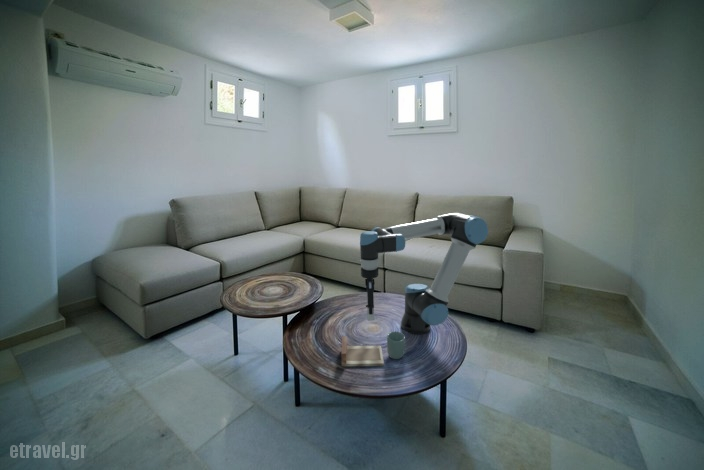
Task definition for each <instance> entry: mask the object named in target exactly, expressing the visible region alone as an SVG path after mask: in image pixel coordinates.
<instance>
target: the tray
mask: <svg viewBox="0 0 704 470" xmlns="http://www.w3.org/2000/svg"><path fill="white" fill-rule="evenodd" d="M347 337H348V336H342V337H341V367H384V365H385V363H384V356H383V355H384V354H383V351H382V350H383V349H382V346H381V345H348V338H347Z"/></svg>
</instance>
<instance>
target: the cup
mask: <svg viewBox="0 0 704 470" xmlns="http://www.w3.org/2000/svg"><path fill="white" fill-rule="evenodd" d="M405 348H406V336H405V334H404V333H402V332H399V331H391V332H389V333H388V334H387V335H386V351H387V354H388V357H390V358H391V359H393V360H400V359H401V358H402V357H403V356H404V355H405V350H406V349H405Z"/></svg>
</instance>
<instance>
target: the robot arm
mask: <svg viewBox="0 0 704 470" xmlns="http://www.w3.org/2000/svg"><path fill="white" fill-rule="evenodd" d="M437 234H438V236H442V235H443V236H444V235H450V240H451V244H450V246H449V248H448V250H447V252H446V253H445V257H444V258H443V261H442V262H441V265H440V267H439V269H438V271H437V273H436V274H435V275H436V276H435V277H434V279H433V281H432V284H431V286H430V287H429V286H428V285H427V284H423V283H411V284H407V285H406V286H405V292H404V312H403V316H402V318H401V322H400V327H401V329H402V330H404V331H405V332H407V333H410V334H414V335H421V334H422V335H423V334H426V333H428V332H429V331H430V330H431V326H433V327H434V326H438V325H441V324H443V323H444V322H445V321H446V320H447V319H448V316H449V308H448V307H447V306H448V304H449V303H450V301H449V298H448V296H449V294H450V292H451V290H452V288H453V286H454V284H455V282H456V280H457V279H458V276H459V274H460V271H461V269H462V268H463V266H464V263H465V261H466V259H467V257H468V255H469V252H470V251H472V250H474V249H476V247H477V245H478V244H481V243H483V242H485V240H486V239H487V237H488V234H489V227H488V224H487V222H486V221H485V220H484V218H482V217H479V216H477V215H472V214H468V213H467V214H466V213H463V212H452V213H447V214H442V215H441V214H440V215H436V216H435V217H434V218H431V219H426V220H420V221H415V222H411V223H404V224H397V225H394V226H388V227H378V226H377V227H373V228H372V229H371V230H366V231H362V232H361V233H360V235H359V236H360V238H359V246H360V247H359V248H360V259H359V261H358V262H359V263H360V267H361V268H360V276H361V277H362V278H363V279H365V280H364V281H365V282H364V283H365V290H366V304H367V305H365V308H367V321H372V322H373V321H375V303H374V302H375V301H374V299H375V298H374V292H375V278H378V276H379V254H384V253H385V254H386V253H393V252H396V253H397V252H400V251H403V250H405V247H406V240H412V239H416V238H417V239H418V238H422V237H428V236H433V235H437Z"/></svg>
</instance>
